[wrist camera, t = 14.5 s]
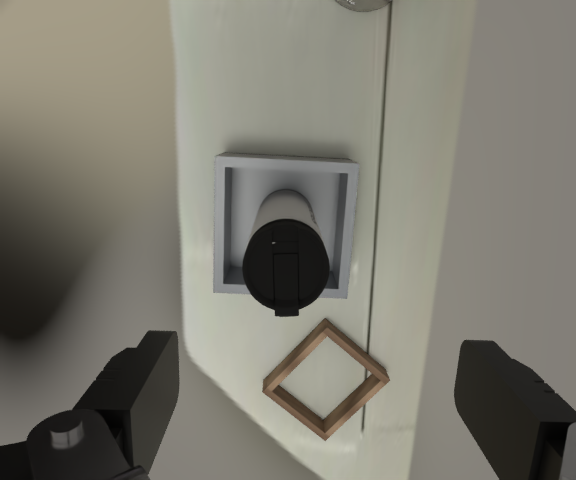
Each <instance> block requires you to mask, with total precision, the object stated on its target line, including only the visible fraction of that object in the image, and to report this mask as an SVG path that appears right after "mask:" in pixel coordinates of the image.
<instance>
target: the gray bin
mask: <svg viewBox="0 0 576 480" xmlns="http://www.w3.org/2000/svg"><path fill="white" fill-rule="evenodd" d="M358 175H359V163H357V162H355V161H352V160H350V159H336V158H317V157H298V156H279V155H260V154H241V153H222V154H219V155H216V156H215V173H214V278H213V293H233V294H250V292H249V290H248V289H247V287H246V285H245V282H244V279H243V272H242V264H243V258H244V254H245V250H246V246H247V243H248V240H249V237H250V234H251V231H252V228H253V225H254V222H255V219H256V216H257V213H258V210H259V208H260V205H261V203H262V201H263V200H264V199H265V198H266V197H267V196H268V195H269V194H271V193H272V192H274V191H277V190H282V189H290V190H294V191H297V192H299V193H301V194H302V195H303V196H304V197H305V198H306V199H307V200H308V201H309V203H310V205H311V207H312V210H313V213H314V215H315V218H316V221H317V224H318V227H319V230H320V232H321V235H322V238H323V241H324V244H325V247H326V252H327V255H328V258H329V265H330V271H329V278H328V281H327V285H326V286H325V288H324V290H323V292H322V293H321V295H320V296H319V297H320V298H342V299H347V295H348V284H349V273H350V262H351V251H352V240H353V229H354V218H355V208H356V197H357V186H358Z"/></svg>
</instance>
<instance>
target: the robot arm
mask: <svg viewBox="0 0 576 480" xmlns="http://www.w3.org/2000/svg"><path fill="white" fill-rule="evenodd" d="M336 1H337V2H338V3H340V4H341V5H342V6H344V7H346V8H348V9H351V10H355V11H372V10H376V9H379V8H381V7H383V6H385V5H387V4H388V3H389V2H391V1H392V0H336ZM178 393H179V356H178V336H177V332H176V331H151V330H150V331H148V332H147V333H146V334H145V336H144V337H143V339H142V340H141V342H140V343H139V345H138V346H137V348H126V349H124V350H123V351H121V352H120V353H118V354H116V355H115V356H113V357H112V358H111V359H110V361H109V362H108V363H107V364H106V366H105V367H104V370H103V371H101V372H100V374H99V375H98V376H97V378H96V380H95V381H94V382H93V383H92V384H91V386H90V387H89V388H88V389H87V391H86V392H85V393H84V394H83V396H82V397H81V398H80V400H79V401H78V402H77V404H76V405H75V406H74V408H73V409H72V410H67V411H63V412H60V413H57V414H54V415H52V416H50V417H48V418H46V419H44V420H43V421H41V422H40V423H39V424H37V425H36V426H35V427H34V428H33V429H32V430H31V431H30V433H29V434H28V436H27V440H26V441H23V442H19V443H14V444H8V445H4V446H0V480H150V478H149V477H148V474H149V471H150V469H151V466H152V464H153V461H154V459H155V456H156V454H157V451H158V449H159V446H160V444H161V441H162V439H163V436H164V434H165V431H166V429H167V426H168V424H169V421H170V419H171V416H172V414H173V411H174V409H175V406H176V403H177V398H178ZM454 398H455V405H456V408H457V411H458V413H459V415H460V416H461V418H462V420H463V421H464V423H465V424H466V426H467V428H468V429H469V431H470V433H471V434H472V436H473V437H474V439H475V440H476V442H477V444H478V446H479V447H480V449H481V450H482V452H483V454H484V455H485V457H486V459H487V460H488V462H489V463H490V465H491V467H492V468H493V470H494V471H495V473H496V475H497V476H498V478H499V480H576V411H575V410H574V409H573V408H572V407H571V406H570V405H569V404H568V403H567V402H566V401H565V400H563V399H562V398H561V397H560V396H559V395H558V394H557V393H555V392H554V390H553V389H552V388H551V387H550V386H549V385H548V384H547V383H544V380H543V379H542V378H541V377H540V376H538V375H537V374H536V373H535V372H534V371H533V370H532V369H531V368H529V367H527V366H525V365H524V364H522V363H520V362H518V361H517V360H515V359H511V358H510V357H509V356H508V355H507V354H506V353H505V352H504V351H503V350H502V349H501V348H500V347H499V346H498V345H497V344H496V343H495V342H494V341H487V340H485V341H484V340H464V341H463V343H462V345H461V348H460V355H459V361H458V368H457V375H456V381H455V389H454Z"/></svg>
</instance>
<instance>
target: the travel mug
mask: <svg viewBox="0 0 576 480" xmlns="http://www.w3.org/2000/svg"><path fill="white" fill-rule="evenodd" d="M329 271H330V265H329V258H328V255H327V252H326V247H325V244H324V241H323V238H322V235H321V232H320V230H319V227H318V224H317V221H316V218H315V215H314V213H313V210H312V207H311V205H310V203H309V201H308V200H307V199H306V198H305V197H304V196H303V195H302V194H301V193H299V192H297V191H294V190H290V189H282V190H277V191H274V192H272V193H271V194H269V195H268V196H267V197H266V198H265V199H264V200H263V201H262V203H261V205H260V208H259V210H258V213H257V216H256V219H255V222H254V225H253V228H252V231H251V234H250V237H249V240H248V243H247V246H246V250H245V254H244V258H243V264H242V272H243V279H244V282H245V285H246V287H247V289H248V290H249V292H250V294H251V295H252V296H253V297H254V298H255V299H256V300H257V301H258V302H260V303H261V304H262V305H264V306H266V307H268V308H271V309H273V310H275V316H279V317H289V316H299V309H301V308H304V307H306V306H308V305H310V304H311V303H312V302H314V301H315V300H316V299H317V298H318V297H319V296H320V295H321V293H322V292H323V290H324V288H325V286H326V285H327V281H328V278H329Z"/></svg>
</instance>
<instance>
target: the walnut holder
mask: <svg viewBox="0 0 576 480" xmlns="http://www.w3.org/2000/svg"><path fill="white" fill-rule="evenodd" d="M327 336H328V337H329V338H330V339H332V340H333V341H334V342H335V343H336V344H338V345H339V346H340V347H341V348H342V349H344V350H345V351H346V352H347V353H348V354H349V355H351V356H352V357H353V358H354V359H355V360H357V361H358V362H359V363H360V364H361V365H363V366H364V367H365V368H366V369H367V370H369V371H370V372H371V373H372V375H371V376H369V377H368V378H367V379H366V380H365V381H364V382H363V383H362V384H361V385H360V386H359V387H358V388H357V389H356V390H355V391H354V392H353V393H352V394H350V395H349V396H348V397H347V398H346V399H345V400H344V401H343V402H342V403H341V404H340V405H339V406H338V407H337V408H336V409H335V410H334V411H333V412H331V413H330V414H329V415H328V416H327V417H326V418H325V419H324V420H322V419H321V418H320V417H318V416H317V415H316V414H315V413H313V412H312V411H311V410H310V409H308V408H307V407H306V406H304V405H303V404H302V403H301V402H299V401H298V400H297V399H296V398H294V397H293V396H292V395H291V394H289V393H288V392H287V391H285V390H284V389H283V388H282V387H280V386H279V384H280V383H281V382H282V381H283V380H284V379H285V378H286V377H287V376H288V375H289V374H290V373H291V372H292V371H293V370H294V369H295V368H296V367H297V366H298V365H299V364H300V363H301V362H302V361H303V360H304V359H305V358H306V357H307V356H308V355H309V354H310V353H311V352H312V351H313V350H314V349H315V348H316V347H317V346H318V345H319V344H320V343H321V342H322V341H323V340H324V339H325V338H326V337H327ZM389 381H390V379H389V376H388V374H387V372H386V369H385V368H383V367H382V366H381V365H380V364H379V363H377V362H376V361H375V360H374V359H373V358H372V357H370V356H369V355H368V354H367V353H366V352H364V351H363V350H362V349H361V348H360V347H359V346H357V345H356V344H355V343H354V342H353V341H351V340H350V339H349V338H348V337H347V336H345V335H344V334H343V333H342V332H341V331H340V330H338V329H337V328H336V327H335V326H334V325H332V324H331V323H330V322H329V321H328V320H327V319H324V320H323V321H322V322H321V323H320V324H319V325H318V326H317V327H316V328H315V329H314V330H313V331H312V332H311V333H310V334H309V335H308V336H307V337H306V338H305V339H304V340H303V341H302V342H301V343H300V344H299V345H298V346H297V347H296V348H295V349H294V350H293V351H292V352H291V353H290V354H289V355H288V356H287V357H286V358H285V359H284V360H283V361H282V362H281V363H280V364H279V365H278V366H277V367H276V368H275V369H274V370H273V371H272V372H271V373H270V374H269V375H268V376H267V377H266V378H265V379H264V380H263V391H262V392H263V393H264V394H266V395H267V396H268V397H270V398H271V399H272V400H273V401H275V402H276V403H277V404H279V405H280V406H281V407H282V408H284V409H285V410H286V411H288V412H289V413H290V414H291V415H293V416H294V417H295V418H297V419H298V420H299V421H300V422H302V423H303V424H304V425H306V426H307V427H308V428H309V429H311V430H312V431H313V432H315V433H316V434H317V435H318V436H320V437H321V438H322V439H324V440H325V441H326V440H327V439H328V438H329V437H330V436H331V435H332V434H333V433H334V432H335V431H336V430H337V429H338V428H340V427H341V426H342V425H343V424H344V423H345V422H346V421H347V420H348V419H349V418H350V417H351V416H352V415H353V414H355V413H356V412H357V411H358V410H359V409H360V408H361V407H362V406H363V405H364V404H365V403H366V402H367V401H368V400H370V399H371V398H372V397H373V396H374V395H375V394H376V393H377V392H378V391H379V390H380V389H381V388H382V387H383V386H385V385H386V384H387V383H388V382H389Z"/></svg>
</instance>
